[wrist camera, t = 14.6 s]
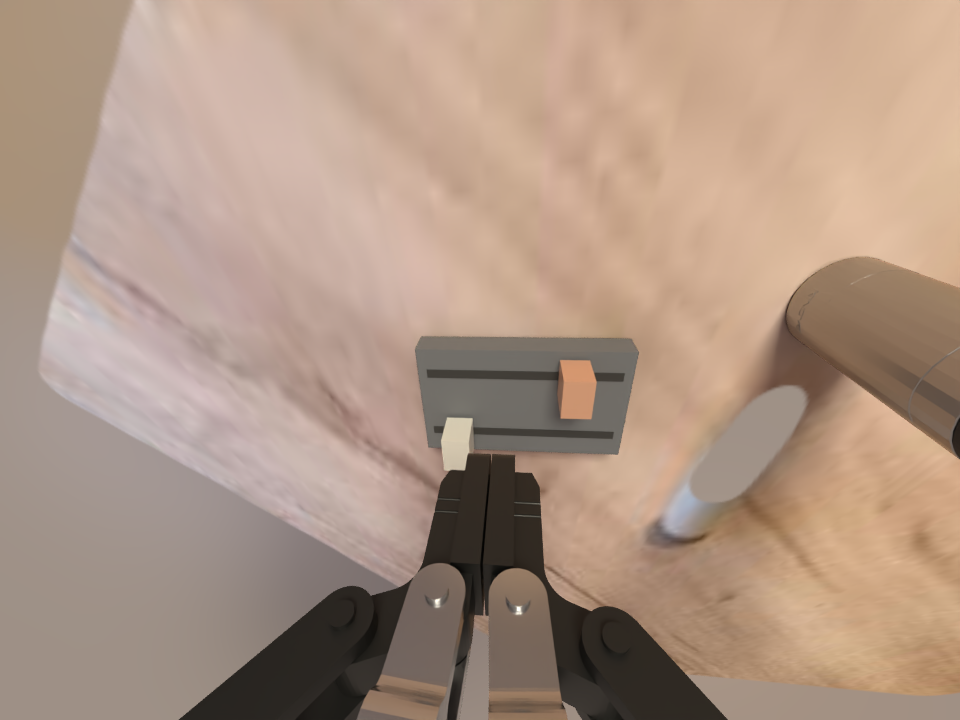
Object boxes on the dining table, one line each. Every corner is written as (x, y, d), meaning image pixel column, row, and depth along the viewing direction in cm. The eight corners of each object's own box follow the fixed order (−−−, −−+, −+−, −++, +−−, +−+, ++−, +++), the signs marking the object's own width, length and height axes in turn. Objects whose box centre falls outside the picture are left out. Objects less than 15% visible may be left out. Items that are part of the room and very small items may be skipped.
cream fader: (472, 418, 44) (468, 442, 41) (474, 446, 46) (470, 471, 43) (447, 417, 44) (441, 441, 41) (449, 445, 47) (444, 470, 43)
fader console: (631, 338, 41) (639, 352, 38) (612, 437, 48) (618, 455, 45) (421, 336, 43) (414, 349, 40) (433, 431, 50) (428, 447, 48)
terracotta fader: (590, 360, 39) (596, 382, 35) (585, 395, 41) (591, 419, 38) (560, 360, 39) (563, 381, 36) (557, 394, 41) (560, 418, 38)
